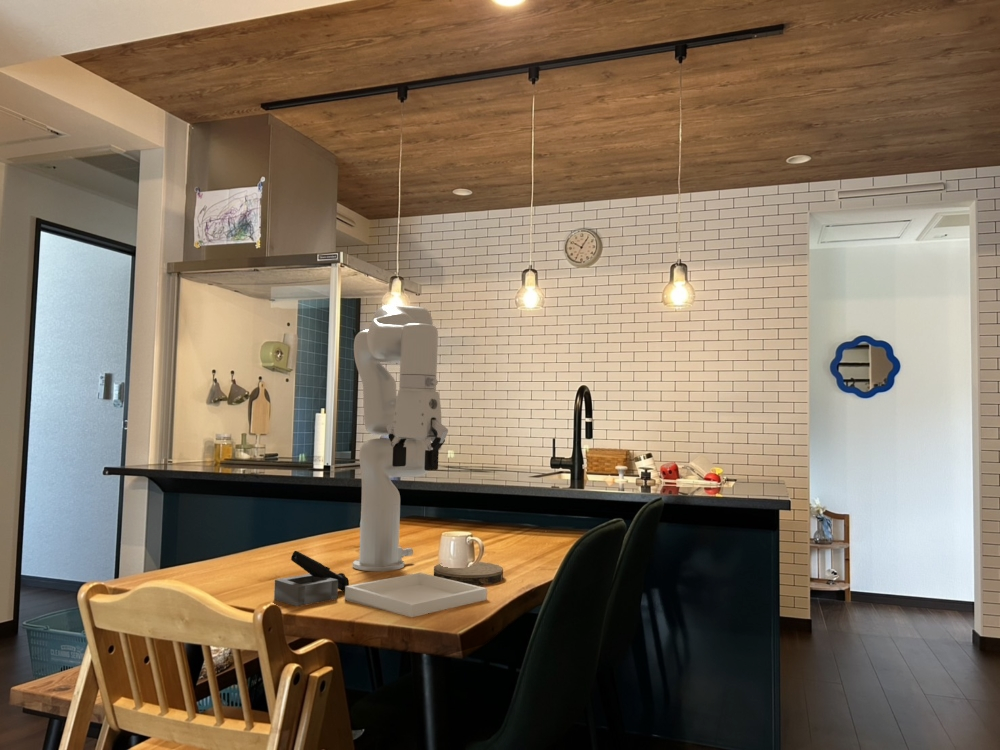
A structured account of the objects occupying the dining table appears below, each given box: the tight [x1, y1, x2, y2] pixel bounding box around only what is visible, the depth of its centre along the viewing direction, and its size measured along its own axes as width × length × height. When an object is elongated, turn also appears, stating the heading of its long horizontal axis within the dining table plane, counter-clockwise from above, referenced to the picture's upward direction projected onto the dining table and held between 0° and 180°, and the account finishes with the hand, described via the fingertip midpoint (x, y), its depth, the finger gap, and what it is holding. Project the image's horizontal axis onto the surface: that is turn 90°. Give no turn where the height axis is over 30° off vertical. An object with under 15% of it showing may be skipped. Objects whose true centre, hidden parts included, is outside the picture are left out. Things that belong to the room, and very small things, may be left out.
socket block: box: [273, 573, 339, 607], centre depth 153 cm, size 9×8×4 cm
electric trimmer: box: [290, 550, 350, 593], centre depth 156 cm, size 4×16×3 cm, turn 135°
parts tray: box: [344, 572, 488, 618], centre depth 153 cm, size 20×20×3 cm
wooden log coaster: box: [433, 561, 504, 586], centre depth 175 cm, size 16×16×3 cm
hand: (414, 468), depth 156 cm, fingers open, 9 cm apart
